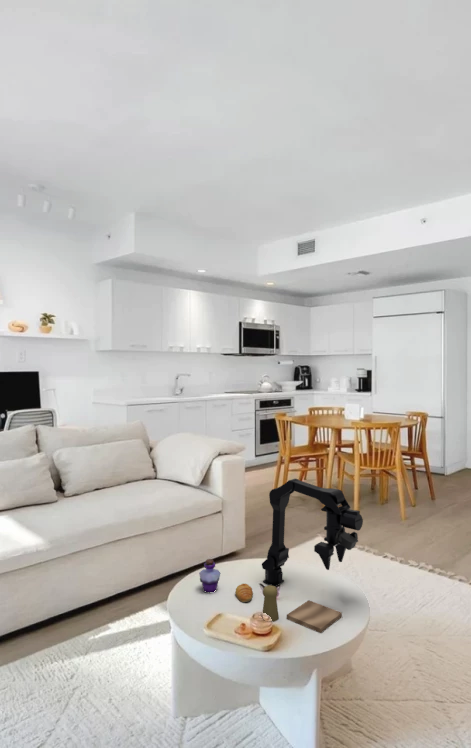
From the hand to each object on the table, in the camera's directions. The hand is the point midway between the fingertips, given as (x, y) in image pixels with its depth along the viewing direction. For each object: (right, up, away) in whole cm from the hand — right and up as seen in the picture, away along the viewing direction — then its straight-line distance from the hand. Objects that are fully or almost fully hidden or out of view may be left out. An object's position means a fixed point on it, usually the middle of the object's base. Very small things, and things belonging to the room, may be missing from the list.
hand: (334, 565), depth 186 cm
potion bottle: (-47, -15, +13) cm, 51 cm away
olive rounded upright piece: (-24, -15, -8) cm, 30 cm away
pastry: (-33, -15, +7) cm, 37 cm away
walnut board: (-9, -15, -9) cm, 20 cm away
